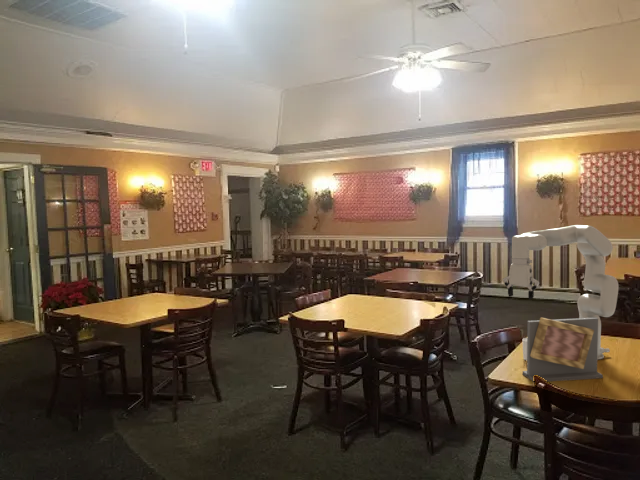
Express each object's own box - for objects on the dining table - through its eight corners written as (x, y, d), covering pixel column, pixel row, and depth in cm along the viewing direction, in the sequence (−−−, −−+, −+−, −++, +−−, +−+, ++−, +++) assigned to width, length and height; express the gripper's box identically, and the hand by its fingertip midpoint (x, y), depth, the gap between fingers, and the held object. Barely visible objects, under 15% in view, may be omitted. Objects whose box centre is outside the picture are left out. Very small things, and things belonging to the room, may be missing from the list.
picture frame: (579, 366, 222) (589, 328, 221) (583, 369, 219) (594, 330, 218) (530, 356, 219) (540, 317, 218) (533, 358, 216) (544, 318, 215)
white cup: (541, 362, 242) (541, 342, 241) (523, 361, 244) (524, 341, 243) (537, 357, 250) (537, 337, 249) (520, 356, 251) (520, 337, 250)
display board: (588, 370, 229) (589, 315, 227) (602, 378, 219) (603, 320, 217) (522, 374, 227) (523, 318, 224) (533, 382, 217) (534, 324, 215)
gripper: (542, 262, 227) (542, 298, 229) (506, 259, 240) (507, 294, 241) (535, 264, 222) (535, 301, 224) (499, 261, 235) (499, 296, 236)
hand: (520, 297), depth 232 cm, fingers open, 9 cm apart
